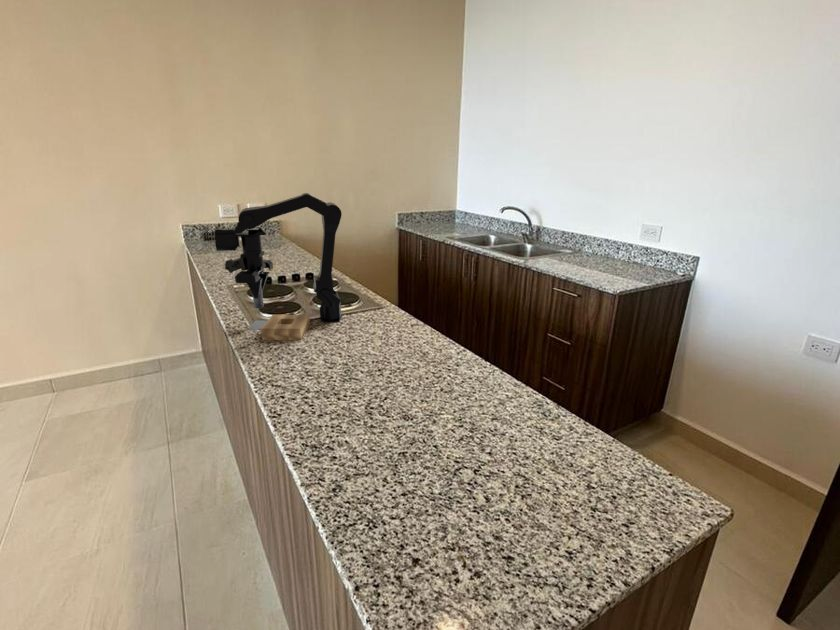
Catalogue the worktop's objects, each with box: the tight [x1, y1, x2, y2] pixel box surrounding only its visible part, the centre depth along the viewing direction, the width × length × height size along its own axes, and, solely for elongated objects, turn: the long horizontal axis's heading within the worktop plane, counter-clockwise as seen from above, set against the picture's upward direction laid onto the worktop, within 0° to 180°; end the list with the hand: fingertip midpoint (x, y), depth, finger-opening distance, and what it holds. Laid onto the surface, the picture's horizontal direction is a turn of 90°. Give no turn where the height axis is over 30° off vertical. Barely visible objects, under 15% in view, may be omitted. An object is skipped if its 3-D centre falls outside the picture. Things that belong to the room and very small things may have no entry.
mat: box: [247, 319, 268, 331], centre depth 154 cm, size 7×8×1 cm
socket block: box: [260, 314, 311, 341], centre depth 148 cm, size 12×12×4 cm
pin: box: [252, 276, 265, 309], centre depth 150 cm, size 3×3×10 cm
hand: (257, 296), depth 151 cm, fingers closed on pin, 3 cm apart
